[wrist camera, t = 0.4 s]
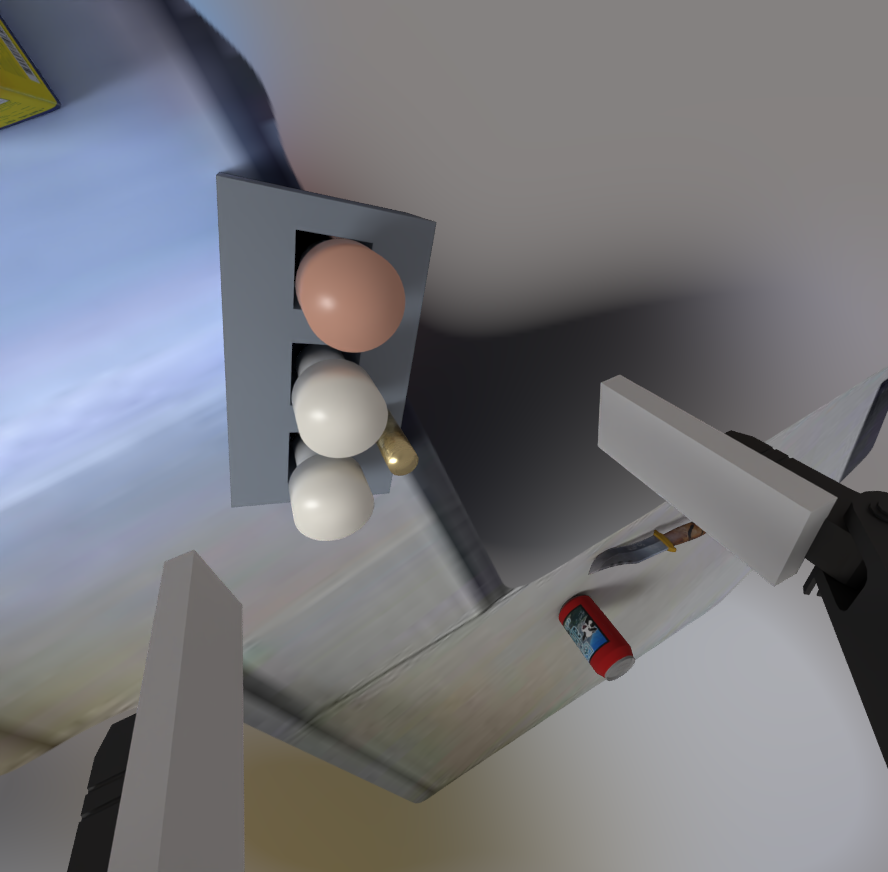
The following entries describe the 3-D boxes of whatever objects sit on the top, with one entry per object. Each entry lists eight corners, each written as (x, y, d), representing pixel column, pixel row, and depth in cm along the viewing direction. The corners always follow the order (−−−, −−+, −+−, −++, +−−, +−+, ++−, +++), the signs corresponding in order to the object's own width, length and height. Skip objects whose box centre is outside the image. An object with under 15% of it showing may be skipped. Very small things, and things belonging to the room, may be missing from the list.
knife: (577, 566, 67) (598, 590, 63) (578, 560, 66) (599, 585, 63) (695, 511, 74) (721, 530, 70) (697, 505, 73) (723, 524, 69)
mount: (231, 461, 35) (231, 507, 31) (218, 172, 25) (216, 175, 21) (371, 454, 41) (389, 493, 36) (405, 212, 31) (436, 222, 26)
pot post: (363, 430, 32) (386, 476, 27) (366, 406, 31) (390, 450, 26) (389, 429, 33) (415, 474, 28) (393, 406, 32) (420, 448, 27)
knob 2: (282, 396, 30) (296, 460, 24) (284, 327, 28) (299, 377, 21) (352, 397, 32) (381, 455, 26) (359, 333, 30) (393, 380, 24)
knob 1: (284, 304, 27) (300, 349, 21) (286, 218, 25) (305, 239, 18) (361, 312, 29) (397, 355, 23) (370, 233, 27) (412, 257, 20)
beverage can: (560, 598, 71) (609, 664, 61) (592, 587, 73) (644, 649, 64) (552, 623, 74) (597, 689, 65) (583, 611, 77) (631, 673, 67)
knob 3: (280, 471, 33) (292, 545, 27) (282, 415, 31) (295, 481, 24) (344, 467, 35) (369, 535, 29) (350, 414, 33) (378, 475, 27)
